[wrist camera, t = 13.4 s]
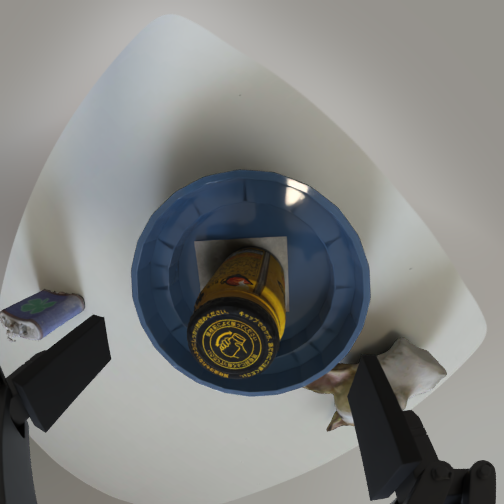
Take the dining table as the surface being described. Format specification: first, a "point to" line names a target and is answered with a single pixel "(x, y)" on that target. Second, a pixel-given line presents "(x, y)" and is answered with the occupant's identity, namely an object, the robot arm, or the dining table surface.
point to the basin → (299, 274)
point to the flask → (40, 314)
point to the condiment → (239, 305)
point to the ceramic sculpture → (396, 370)
